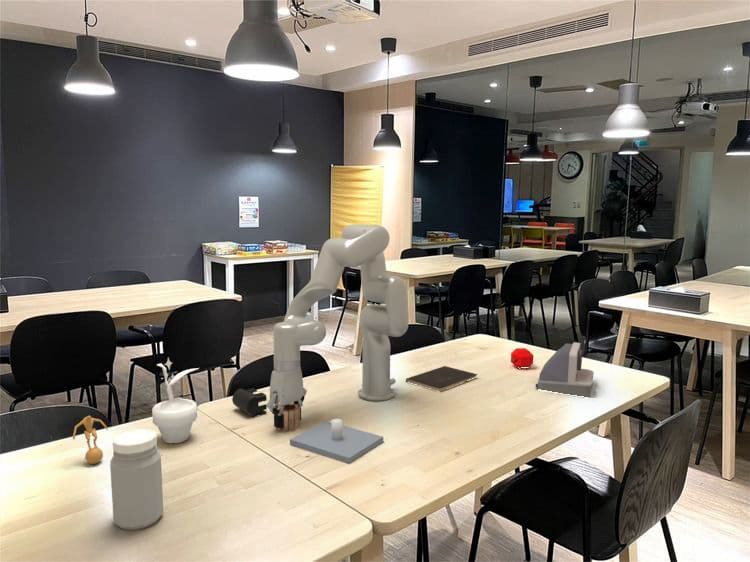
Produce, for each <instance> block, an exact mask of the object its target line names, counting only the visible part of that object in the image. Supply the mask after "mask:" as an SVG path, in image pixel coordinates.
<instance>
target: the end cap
mask: <svg viewBox="0 0 750 562" xmlns="http://www.w3.org/2000/svg"><path fill="white" fill-rule="evenodd" d="M256 392H258V389H255V388H254V387H253V388H249V389H243V388H237V390H235V391H234V393H233V395H232V399H231V400H232V403H233V405H234V406H235V407H237V408H238V409H239V410H241V411H243V412H245V413H247V415H249V416H251V417H254V416H256V417H259V416H258V415H260V416H262V414H264V415H266V414H267V411H266V410H267V409H268V407H267V404H266V403H265V404H261V405H259V404H260V403H262V402H267V400H268V399H267V398H268V397H267V395H266V393H264V392H258V393H256ZM254 418H255V417H254Z"/></svg>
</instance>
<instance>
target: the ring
mask: <svg viewBox="0 0 750 562" xmlns="http://www.w3.org/2000/svg"><path fill="white" fill-rule="evenodd" d="M279 408H280V406H278V408H277V409H278V410H279ZM282 415H283V422H284V427H283V428H282V429H280V428H277V427H275V429H276V430H277V431H279V432H294V431H297V430H298V429H300V428H301V420H300V406H299V405H298V404H295V403H290V404H288V405H285V406H284V408H283V412H282Z"/></svg>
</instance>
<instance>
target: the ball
mask: <svg viewBox="0 0 750 562" xmlns="http://www.w3.org/2000/svg"><path fill="white" fill-rule="evenodd" d="M534 356H535V355H534V354H533V353H532V352H531V351H530V350H529V349H527V348H526V347H517V348H515V349H514V350H513V351H512V352H511V353H510V362H511V363H512V365H513V366H514V367H515V368H517V367H519V368H521V367H529V368H530V367H532V366H533V364H534Z"/></svg>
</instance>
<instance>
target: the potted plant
mask: <svg viewBox="0 0 750 562" xmlns="http://www.w3.org/2000/svg"><path fill="white" fill-rule="evenodd" d="M172 364H173V362H171V360H170V357H167V361H166V363H164V364H162V363H157V364H156V366H157V367H160V368H162V373H163V376H164V377H163V378H164V383H165V386H166V392H167V395H168V400H163V401H161V402H158V403H156V404H154V406H153V407H152V409H151V410H152V413H151V415H152V424H154V425H155V427H157V429H158V431H159V433H160V435H161V438H162V440H163V441H164V443H167V444H171V445H173V444H172V443H175V444H180V443H183V442H185V441H186V440H188V439H189V436H190V433H191V430H192V426H193V423H194V422H195V421H196V420H197V417H198V405H197V402H196V401H195V400H193V399H187V398H182V397H175V395H174V392H173V388H172V386H173V385H174V384H175V383H177V382H178V381H179V380H181V379H182V378H183V377H184V376H186V375H187V374H189V373H192V372H194V371H197V370H200V367H198V368H190V369H185V370H182V371H181V372H179V373H177V374H175V375H174V373H172V374H171V376H170V378H171V379H169V380H170V381H169V382H168V376H169V374H168V373H167V367H168V370H169V371H170V369H171V365H172ZM165 366H167V367H165Z"/></svg>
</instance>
